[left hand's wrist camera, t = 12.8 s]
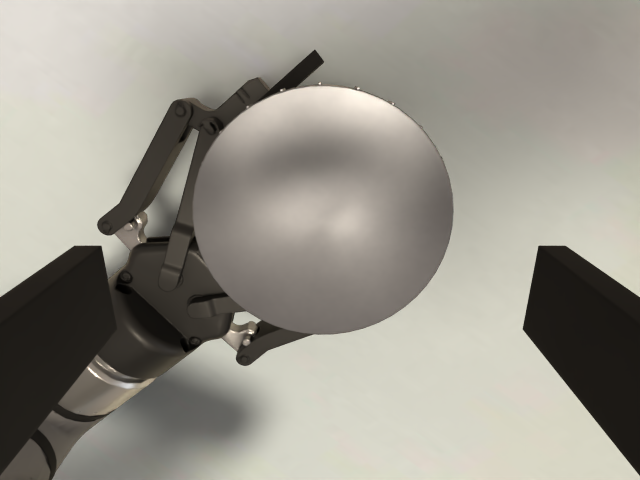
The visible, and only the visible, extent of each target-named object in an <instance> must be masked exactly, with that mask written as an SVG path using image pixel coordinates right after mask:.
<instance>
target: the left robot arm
mask: <svg viewBox="0 0 640 480" xmlns="http://www.w3.org/2000/svg"><path fill="white" fill-rule="evenodd" d="M116 330H117V325H116V320H115V315H114V309H113V304H112V299H111V294H110V288H109V283H108V278H107V273H106V267H105V262H104V257H103V252H102V246H74V247H72V248H71V249H69V250H68V251H66V252H65V253H63V254H62V255H61V256H59V257H58V258H56V259H55V260H53V261H52V262H50V263H49V264H48V265H46V266H45V267H43V268H42V269H40V270H39V271H38V272H36V273H35V274H33V275H32V276H30V277H29V278H27V279H26V280H25V281H23V282H22V283H20V284H19V285H17V286H16V287H14V288H13V289H12V290H10V291H9V292H7V293H6V294H4V295H3V296H1V297H0V475H1V474H2V473H3V472H4V470H5V469H6V468H7V467H8V465H9V464H10V463H11V462H12V460H13V459H14V458H15V457H16V455H17V454H18V453H19V452H20V450H21V449H22V448H23V447H24V445H25V444H26V443H27V442H28V440H29V439H30V438H31V437H32V435H33V434H34V433H35V432H36V430H37V429H38V428H39V427H40V425H41V424H42V423H43V422H44V420H45V419H46V418H47V417H48V415H49V414H50V413H51V411H52V410H53V409H54V408H55V406H56V405H57V404H58V403H59V401H60V400H61V399H62V398H63V396H64V395H65V394H66V393H67V391H68V390H69V389H70V388H71V386H72V385H73V384H74V383H75V381H76V380H77V379H78V378H79V376H80V375H81V374H82V373H83V371H84V370H85V369H86V368H87V366H88V365H89V364H90V363H91V361H92V360H93V359H94V358H95V356H96V355H97V354H98V353H99V351H100V350H101V349H102V348H103V346H104V345H105V344H106V343H107V341H108V340H109V339H110V338H111V336H112V335H113V334H114V333H115V331H116ZM523 330H524V331H525V333H526V334H527V335H528V336H529V338H530V339H531V340H532V341H533V343H534V344H535V345H536V346H537V348H538V349H539V350H540V351H541V353H542V354H543V355H544V356H545V358H546V359H547V360H548V361H549V363H550V364H551V365H552V366H553V368H554V369H555V370H556V371H557V373H558V374H559V375H560V376H561V378H562V379H563V380H564V381H565V383H566V384H567V385H568V386H569V388H570V389H571V390H572V391H573V393H574V394H575V395H576V396H577V398H578V399H579V400H580V401H581V403H582V404H583V405H584V406H585V408H586V409H587V410H588V411H589V413H590V414H591V415H592V417H593V418H594V419H595V420H596V422H597V423H598V424H599V425H600V427H601V428H602V429H603V430H604V432H605V433H606V434H607V435H608V437H609V438H610V439H611V440H612V442H613V443H614V444H615V445H616V447H617V448H618V449H619V450H620V452H621V453H622V454H623V455H624V457H625V458H626V459H627V460H628V462H629V463H630V464H631V465H632V467H633V468H634V469H635V470H636V472H637V473H638V474H639V475H640V297H639V296H637V295H636V294H634V293H633V292H631V291H630V290H628V289H627V288H626V287H624V286H623V285H621V284H620V283H618V282H617V281H615V280H614V279H613V278H611V277H610V276H608V275H607V274H605V273H604V272H602V271H601V270H600V269H598V268H597V267H595V266H594V265H592V264H591V263H590V262H588V261H587V260H585V259H584V258H582V257H581V256H579V255H578V254H577V253H575V252H574V251H572V250H571V249H569V248H568V247H566V246H538V252H537V257H536V262H535V267H534V273H533V278H532V283H531V288H530V294H529V299H528V304H527V309H526V315H525V320H524V325H523Z"/></svg>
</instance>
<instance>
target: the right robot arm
mask: <svg viewBox="0 0 640 480" xmlns="http://www.w3.org/2000/svg"><path fill="white" fill-rule="evenodd" d="M323 63H324V61H323V60H322V58H321V57H320V56H319V54H318V53H317V52H316V50H314V51H313V52H312V53H310V54H309V55H308V56H307V57H306V58H305V59H304V60H303V61H302V62H300V63H299V64H298V65H297V66H296V67H295V68H294V69H293V70H291V71H290V72H289V73H288V74H287V75H286V76H285V77H284V78H283V79H281V80H280V81H279V82H278V83H277V84H276V85H275V86H274V87H273V88H271V89H270V88H269V87H268V86H267V85H266V83H265V82H264V81H263V80H262V79H261V78H255V79H252V80H249V81H247V82H246V83H245V84H244V85H243V86H242V87H241V88H240V89H239V90H238V91H237V92H236V93H234V94H233V95H232V96H231V97H230V98H229V99H228V100H227V101H226V102H225V103H223V104H222V105H221V106H220V107H219V108H218V109H216V110H214V109H210V108H208V107H206V106H205V105H203V104H201V103H200V102H199V101H198V100H197V99H195V98H185V99H179V100H176V101H174V102H173V103H172V104H171V106H170V107H169V109H168V111H167V113H166V115H165V117H164V119H163V121H162V123H161V125H160V127H159V128H158V130H157V132H156V134H155V136H154V138H153V140H152V142H151V144H150V146H149V148H148V149H147V151H146V153H145V155H144V157H143V159H142V161H141V163H140V165H139V167H138V169H137V170H136V172H135V174H134V176H133V178H132V180H131V182H130V184H129V186H128V188H127V190H126V191H125V193H124V195H123V197H122V199H121V201H120V203H119V204H118V205H117V206H115V207H114V208H113V209H112V210H110V211H109V212H108V213H107V214H105V215H104V216H103V217H102V218H100V219H99V221H98V224H97V226H98V229H99V231H100V232H101V233H103V234H105V235H112V234H115V235H116V236H117V237H118V238H119V239H120V240H121V241H122V242H123V243H124V244H125V245H126V246H127V247H128V248H129V249H130V250H131V252H130V254H129V258H128V261H127V263H126V264H125V265H124V266H123V267H122V268H121V269H120V270H118V271H117V272H116V273H115V274H114V275H113V276H111V277H110V278H109V279H108V283H109V288H110V294H111V299H112V304H113V309H114V315H115V320H116V325H117V330H116V331H115V333H114V334H113V335H112V336H111V338H110V339H109V340H108V341H107V343H106V344H105V345H104V346H103V348H102V349H101V350H100V351H99V353H98V354H97V355H96V356H95V358H94V359H93V360H92V361H91V363H90V364H89V365H88V366H87V368H86V369H85V370H84V371H83V373H82V374H81V375H80V376H79V378H78V379H77V380H76V381H75V383H74V384H73V385H72V386H71V388H70V389H69V390H68V391H67V393H66V394H65V395H64V396H63V398H62V399H61V400H60V401H59V403H58V404H57V405H56V406H55V408H54V409H53V410H52V411H51V413H50V414H49V415H48V417H47V418H46V419H45V420H44V422H43V423H42V424H41V425H40V427H39V428H38V429H37V430H36V432H35V433H34V434H33V435H32V437H31V438H30V439H29V440H28V442H27V443H26V444H25V445H24V447H23V448H22V449H21V450H20V452H19V453H18V454H17V455H16V457H15V458H14V459H13V460H12V462H11V463H10V464H9V465H8V467H7V468H6V469H5V470H4V472H3V473H2V474H1V475H0V480H52V478H53V476H54V474H55V472H56V471H57V469H58V468H59V466H60V465H61V463H62V462H63V460H64V459H65V457H66V456H67V454H68V453H69V451H70V450H71V448H72V447H73V445H74V444H75V443H76V442H77V441H78V439H79V438H80V437H81V436H82V435H83V434H84V433H85V432H87V431H88V430H89V429H90V428H92V427H93V426H94V425H96V424H97V423H98V422H99V421H101V420H102V419H103V418H105V417H106V416H107V415H108V414H110V413H111V412H113V411H114V410H115V409H117V408H118V407H119V406H121V405H122V404H123V403H125V402H126V401H127V400H129V399H130V398H131V397H133V396H134V395H135V394H137V393H138V392H140V391H141V390H142V389H144V388H145V387H146V386H148V385H149V384H150V383H152V382H153V381H154V380H155V379H156V377H158V376H160V375H162V374H163V373H165V372H166V371H167V370H169V369H170V368H171V367H173V366H174V365H175V364H177V363H178V362H179V361H181V360H182V359H183V358H185V357H186V356H187V355H189V354H190V353H191V352H193V351H194V350H195V349H196V348H198V347H199V346H200V345H201V344H203V343H204V342H206V341H209V340H214V339H219V338H222V339H223V340H224V341H226V342H227V343H228V344H229V345H230V346H231V347H232V348H234V349H235V350H236V351H237V356H236V360H237V362H238V363H239V364H240V365H243V366H247V365H250V364H251V363H253V362H254V361H255V360H256V359H258V358H259V357H260V356H261V355H263V354H264V353H265V352H266V351H268V350H270V349H273V348H276V347H279V346H282V345H284V344H287V343H290V342H293V341H296V340H299V339H301V338H304V337H307V336H310V335H313V334H307V333H300V332H295V331H290V330H286V329H283V328H280V327H277V326H274V325H272V324H269V323H267V322H265V321H263V320H261V321H260V322H258V323H257V324H255V322H253V321H249V322H248V323H246V324H244V325H236V324H234V323H233V318H234V314H235V312H243V311H246V310H244V309H243V308H242V307H241V306H239V305H238V304H237V303H236V302H234V301H233V300H232V299H231V298H230V297H229V296H228V295H227V294H226V293H225V292H224V291H223V290H222V288H221V287H220V286H219V284H218V283H217V282H216V281H215V279H214V278H213V276H212V275H211V273H210V271H209V270H208V268H207V266H206V264H205V262H204V260H203V257H202V255H201V253H200V250H199V247H198V244H197V240H196V237H195V232H194V224H193V195H194V188H195V183H196V180H197V176H198V173H199V169H200V167H201V165H202V164H201V163H202V162H203V160H204V158H205V156H206V153H207V152H208V150H209V149H210V147H211V145H212V144H213V142H214V141H215V139H216V138H217V136H218V135H219V134H220V133H219V132H220V131H221V130H223V129H224V128H225V127H226V126H227V125H228V124H229V123H230V122H231V121H232V120H233V119H234V118H236V117H237V116H238V115H239V114H240V113H241V112H243V111H244V110H246V109H247V108H246V107H247V106H248V105H251V104H255V103H256V102H258V101H261V100H263V99H265V98H267V97H269V96H271V95H273V94H276V93H279V92H281V91H280V89H284V88H285V89H286V90H288V89H291V88H295V87H297V86H298V85H299V84H300V83H301V82H302V81H304V80H305V79H306V78H307V77H308V76H309V75H310V74H312V73H313V72H314V71H315V70H316V69H317V68H318V67H319V66H321V65H322V64H323ZM193 128H195V129H196V130H198V131H199V135H198V138H197V142H196V146H195V150H194V154H193V158H192V161H191V165H190V169H189V173H188V177H187V181H186V185H185V188H184V192H183V196H182V200H181V204H180V208H179V211H178V215H177V219H176V222H175V224H174V226H173V229H172V231H171V235H170V236H164V237H149V238H147V237H146V236H145V234H144V227H145V226H146V224H147V222H148V218H147V214H146V213H145V212H143V211H144V210H145V209H146V208H147V207H148V206H149V205H150V204H151V203H152V201H153V200H154V198H155V197H156V195H157V193H158V191H159V189H160V187H161V186H162V184H163V182H164V180H165V178H166V177H167V175H168V173H169V171H170V169H171V167H172V166H173V164H174V162H175V160H176V158H177V157H178V155H179V153H180V151H181V149H182V147H183V146H184V144H185V142H186V140H187V138H188V137H189V135H190V133H191V131H192V129H193Z"/></svg>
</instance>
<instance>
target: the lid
mask: <svg viewBox="0 0 640 480" xmlns="http://www.w3.org/2000/svg"><path fill="white" fill-rule="evenodd" d="M359 89H360V88H359V87H356V86H355V89H354V88H350V87H346V86H339V85H329V84H322V85H321V82H319V83H318V85H307V86H301V87H295V88H291V89H288V90H286V89H285V88H284V89H280V91H281V92H279V93H276V94H273V95H271V96H269V97H267V98H265V99H263V100H261V101H258V102H256V103H255V104H251V105H248V106H247V107H246V108H247V109H246V110H244V111H243V112H241V113H240V114H239V115H238V116H237V117H236V118H234V119H233V120H232V121H231V122H230V123H229V124H228V125H227V126H226V127H225V128H224V129H223V130H221V131H220V132H219V133H220V134H219V135H218V136H217V138H216V139H215V141H214V142H213V144H212V145H211V147H210V149H209V150H208V152H207V153H206V156H205V158H204V160H203V162H202V163H201V164H202V165H201V167H200V169H199V173H198V176H197V180H196V183H195V188H194V195H193V224H194V232H195V237H196V240H197V244H198V247H199V250H200V253H201V255H202V257H203V260H204V262H205V264H206V266H207V268H208V270H209V271H210V273H211V275H212V276H213V278H214V279H215V281H216V282H217V283H218V284H219V286H220V287H221V288H222V290H223V291H224V292H225V293H226V294H227V295H228V296H229V297H230V298H231V299H232V300H233V301H234V302H236V303H237V304H238V305H239V306H241V307H242V308H243V309H244V310H246V311H247V312H249V313H251V314H252V315H254V316H255V317H257V318H259V319H261V320H263V321H265V322H267V323H269V324H272V325H274V326H277V327H280V328H283V329H286V330H290V331H295V332H300V333H307V334H318V335H319V334H338V333H346V332H351V331H355V330H359V329H363V328H366V327H368V326H371V325H374V324H376V323H379V322H381V321H383V320H385V319H386V318H388V317H390V316H392V315H394V314H395V313H397V312H398V311H399V310H401V309H402V308H404V307H405V306H406V305H408V304H409V303H410V302H411V301H412V300H413V299H414V298H416V297H417V296H418V294H419V293H420V292H421V291H422V290H423V289H424V288H425V287H426V286H427V284H428V283H429V281H430V280H431V278H432V277H433V276H434V274H435V273H436V271H437V269H438V267H439V265H440V263H441V261H442V259H443V257H444V255H445V252H446V249H447V246H448V244H449V239H450V235H451V230H452V223H453V195H452V189H451V184H450V179H449V176H448V173H447V170H446V167H445V165H444V162H443V160H442V157H441V156H440V154H439V152H438V150H437V148H436V146H435V145H434V144H433V142H432V141H431V139H430V138H429V137H428V135H427V134H426V133H425V131H424V130H423V127H422V126H420V125H418V124H417V123H416V122H415V121H414V120H413V119H412V118H411V117H409V116H408V115H407V114H406V113H404V112H403V111H402V110H400V109H399V108H398V107H396V106H394V104H395V103H393V102H391V101H388V102H387V101H386V100H384V99H382V98H380V97H377V96H375V95H372V94H370V93H367V92H365V91H362V90H359Z"/></svg>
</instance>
